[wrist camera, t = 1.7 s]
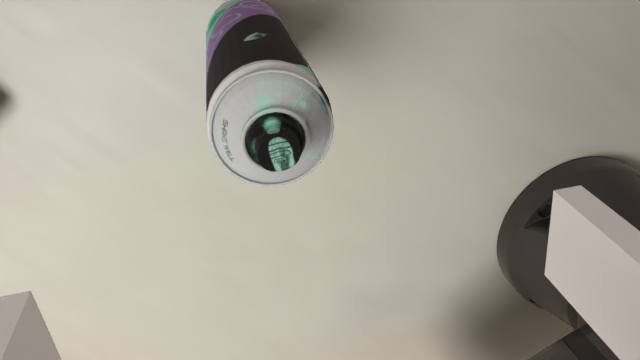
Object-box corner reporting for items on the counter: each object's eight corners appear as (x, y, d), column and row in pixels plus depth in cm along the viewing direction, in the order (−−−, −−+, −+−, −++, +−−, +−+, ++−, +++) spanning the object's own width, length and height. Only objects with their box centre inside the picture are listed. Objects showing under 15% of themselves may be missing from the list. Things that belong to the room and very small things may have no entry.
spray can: (244, -21, 37) (279, 54, 20) (301, 37, 40) (376, 150, 22) (189, 38, 38) (175, 158, 21) (247, 91, 41) (279, 239, 23)
